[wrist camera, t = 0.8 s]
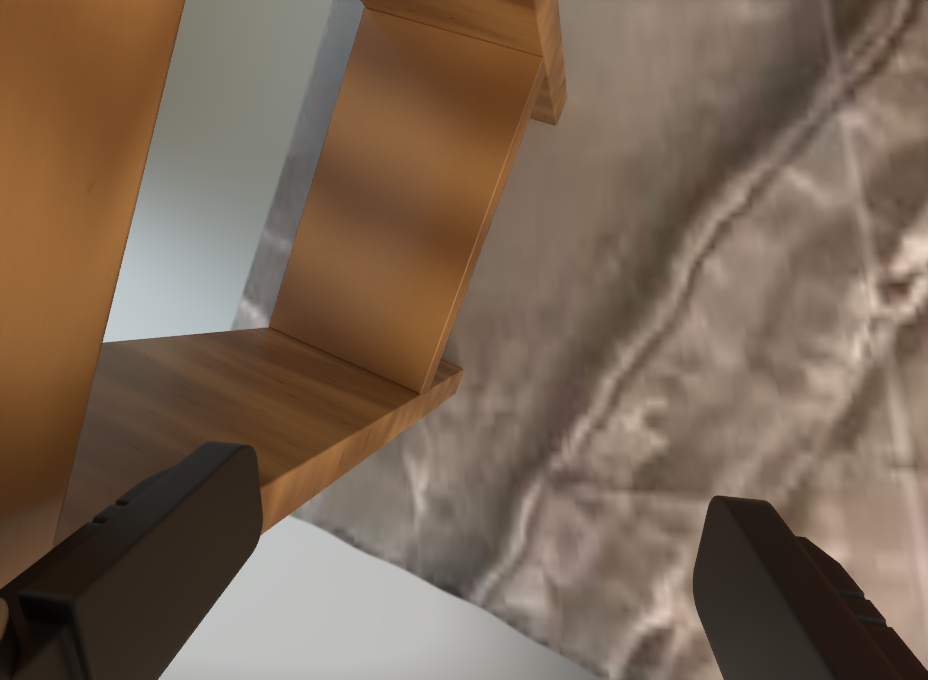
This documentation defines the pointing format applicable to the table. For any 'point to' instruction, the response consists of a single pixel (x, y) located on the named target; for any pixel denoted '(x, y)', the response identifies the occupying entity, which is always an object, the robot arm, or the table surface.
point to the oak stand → (307, 273)
